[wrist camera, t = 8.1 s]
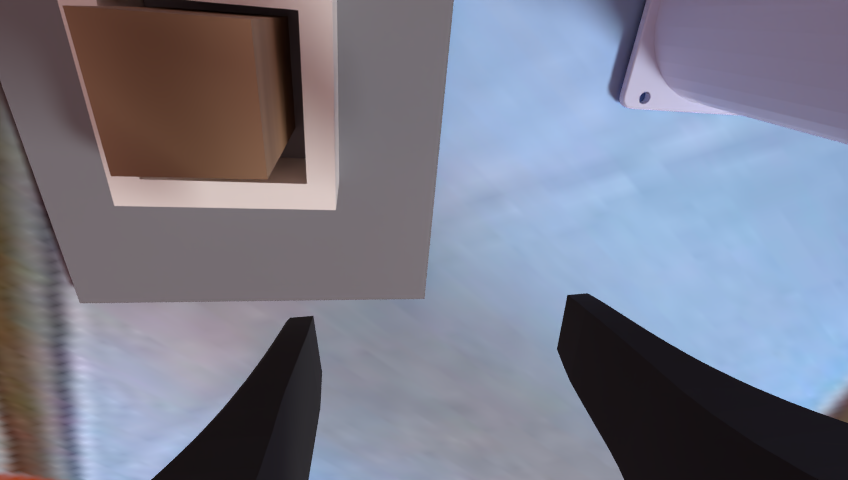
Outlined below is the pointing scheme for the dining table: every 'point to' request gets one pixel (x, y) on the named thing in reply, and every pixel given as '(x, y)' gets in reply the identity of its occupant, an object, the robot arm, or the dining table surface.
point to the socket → (250, 198)
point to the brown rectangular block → (186, 89)
